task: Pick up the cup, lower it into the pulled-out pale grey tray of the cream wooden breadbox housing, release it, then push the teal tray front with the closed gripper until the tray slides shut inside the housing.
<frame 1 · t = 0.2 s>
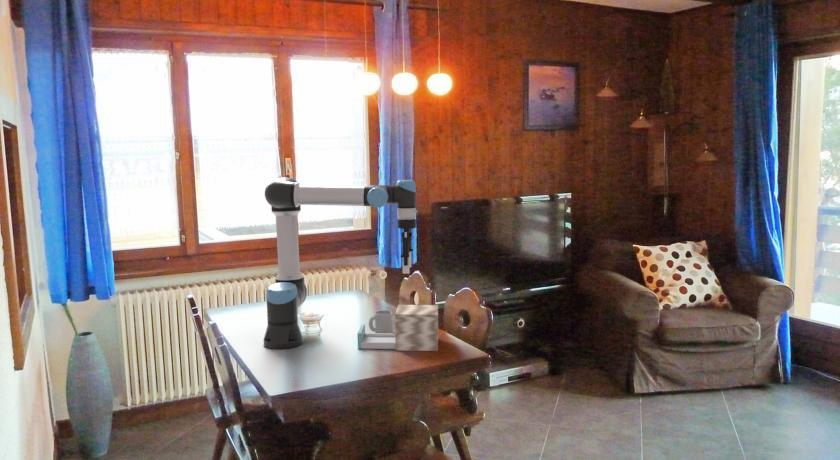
hand: (407, 270, 264), 27 cm above the table, fingers open, 13 cm apart
tray: (383, 336, 254), point 3 cm above the table, slide at 10.5 cm
cup: (380, 334, 270), on the table
housing: (417, 344, 254), on the table
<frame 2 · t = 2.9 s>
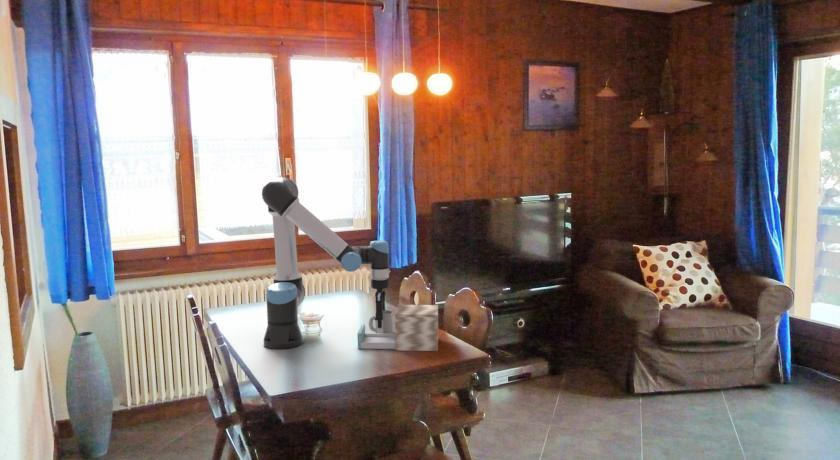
hand: (381, 332, 270), 0 cm above the table, fingers closed on cup, 7 cm apart
cup: (380, 334, 269), on the table, touching gripper
everything else where it was.
when the fingers open (4 cm above the table, at t = 8.0 s): cup drops 2 cm, resting on tray.
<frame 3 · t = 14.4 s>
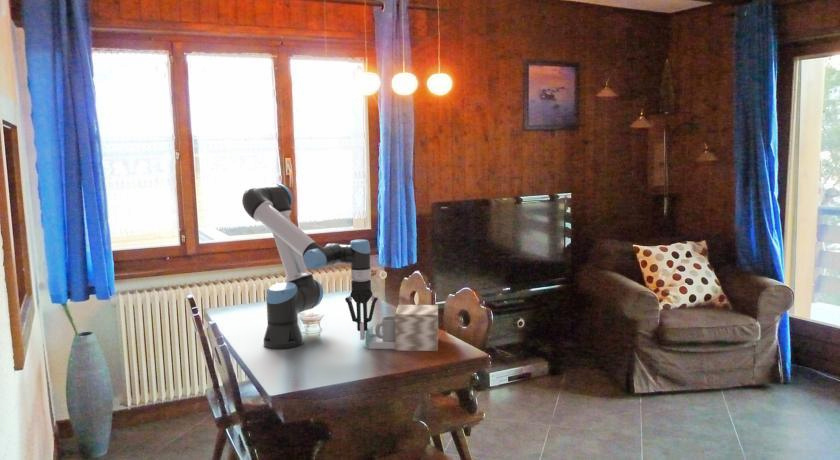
hand: (362, 338, 254), 2 cm above the table, fingers closed
tray: (391, 336, 254), point 3 cm above the table, slide at 7.5 cm, touching cup, gripper
cup: (388, 341, 254), point 1 cm above the table, touching tray
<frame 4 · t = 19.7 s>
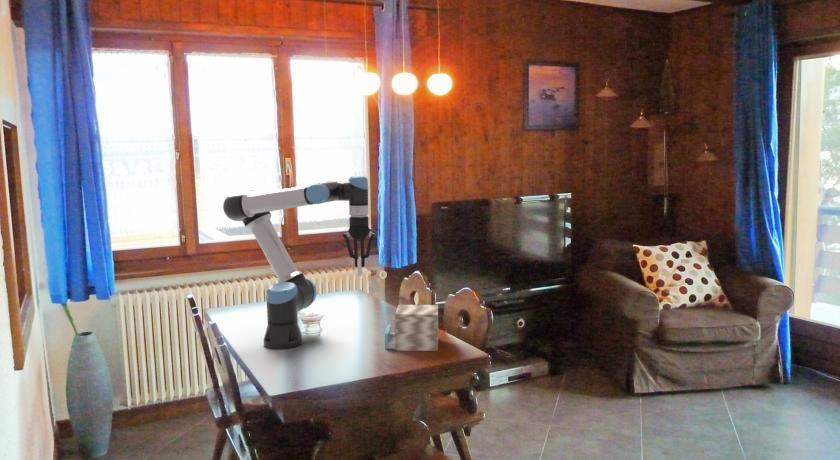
hand: (359, 275, 258), 26 cm above the table, fingers closed
tray: (410, 336, 254), point 3 cm above the table, slide at 0.0 cm, touching cup
cup: (407, 341, 254), point 1 cm above the table, touching tray
at the end: tray slide at 0.0 cm; cup inside the target area on the housing (3.1 cm from its centre), point 1.2 cm above the housing's base; the gripper is holding nothing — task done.
